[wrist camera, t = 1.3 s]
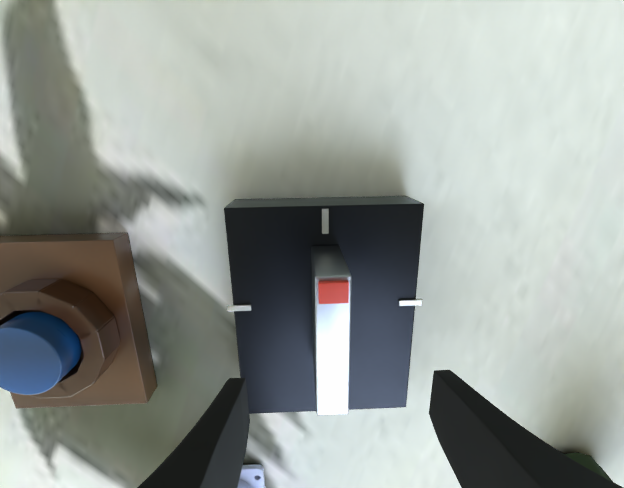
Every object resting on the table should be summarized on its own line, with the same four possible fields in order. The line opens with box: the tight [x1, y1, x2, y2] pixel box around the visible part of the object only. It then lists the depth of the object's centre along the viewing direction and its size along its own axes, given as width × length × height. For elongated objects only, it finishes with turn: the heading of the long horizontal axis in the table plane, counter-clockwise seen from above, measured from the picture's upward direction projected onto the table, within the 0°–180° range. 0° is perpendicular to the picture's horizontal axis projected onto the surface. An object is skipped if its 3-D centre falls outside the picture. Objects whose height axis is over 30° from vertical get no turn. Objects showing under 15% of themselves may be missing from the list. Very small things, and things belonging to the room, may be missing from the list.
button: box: [0, 312, 81, 395], centre depth 18 cm, size 4×4×2 cm
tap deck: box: [224, 196, 424, 414], centre depth 21 cm, size 14×12×3 cm
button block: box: [0, 233, 157, 408], centre depth 20 cm, size 12×9×4 cm
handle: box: [311, 245, 352, 415], centre depth 17 cm, size 8×2×5 cm, turn 1°
